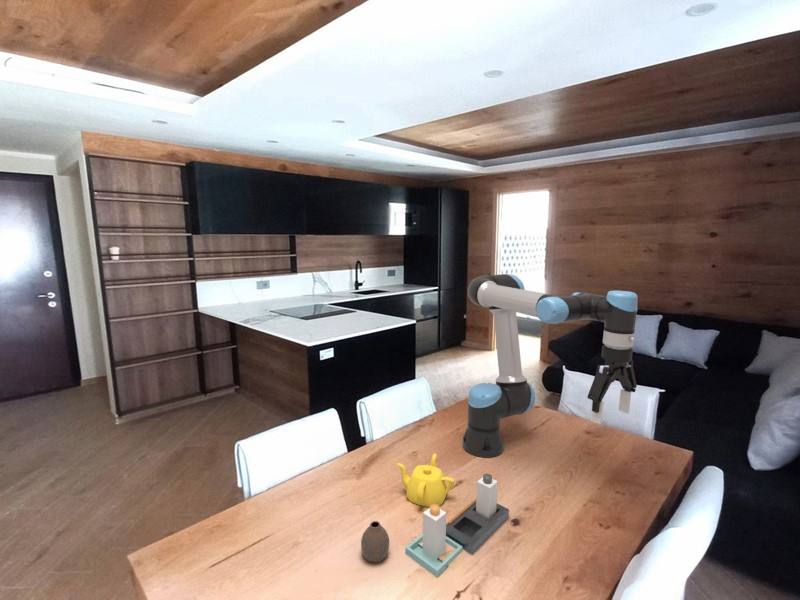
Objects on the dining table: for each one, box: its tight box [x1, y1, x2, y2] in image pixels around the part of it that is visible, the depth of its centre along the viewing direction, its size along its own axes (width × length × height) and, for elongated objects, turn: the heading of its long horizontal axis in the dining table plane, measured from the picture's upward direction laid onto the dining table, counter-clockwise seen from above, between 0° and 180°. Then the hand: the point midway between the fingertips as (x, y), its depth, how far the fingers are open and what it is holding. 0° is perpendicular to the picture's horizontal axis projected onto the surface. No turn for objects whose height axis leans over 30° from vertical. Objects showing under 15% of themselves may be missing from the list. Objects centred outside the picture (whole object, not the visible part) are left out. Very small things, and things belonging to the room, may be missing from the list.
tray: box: [404, 533, 464, 578], centre depth 97 cm, size 10×10×2 cm
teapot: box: [396, 453, 455, 508], centre depth 117 cm, size 14×13×10 cm
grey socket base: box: [446, 498, 510, 556], centre depth 105 cm, size 9×18×4 cm, turn 136°
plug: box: [422, 504, 447, 562], centre depth 96 cm, size 4×4×12 cm
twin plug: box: [475, 473, 499, 520], centre depth 107 cm, size 4×4×12 cm
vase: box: [360, 520, 390, 564], centre depth 95 cm, size 7×7×9 cm
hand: (610, 416), depth 113 cm, fingers open, 13 cm apart
